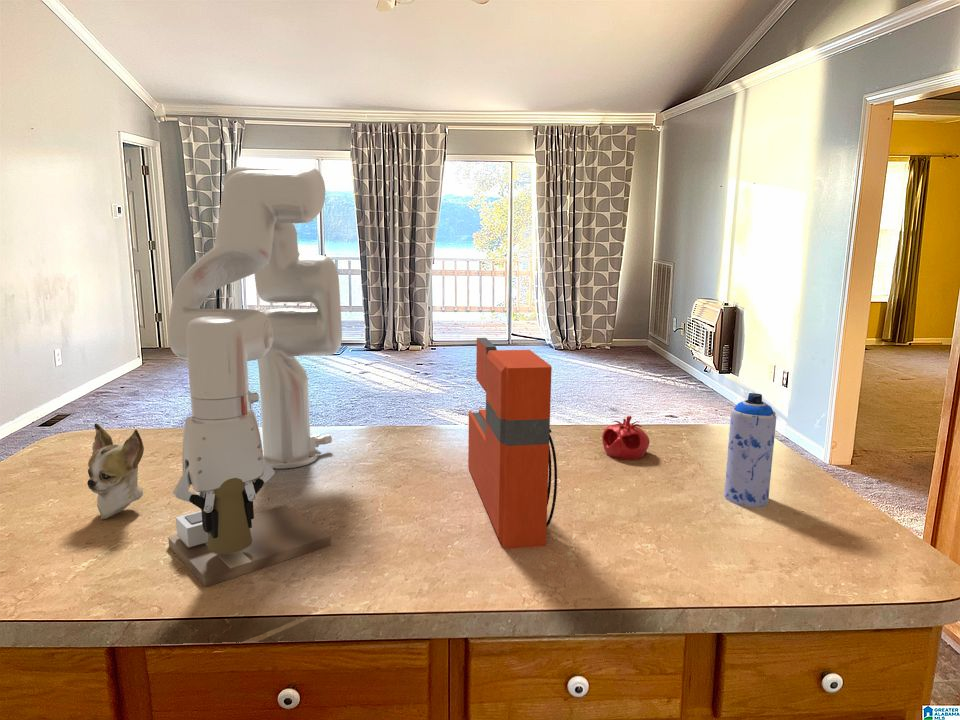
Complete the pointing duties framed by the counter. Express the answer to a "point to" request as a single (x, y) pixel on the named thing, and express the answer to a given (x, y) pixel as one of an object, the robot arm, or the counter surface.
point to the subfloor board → (255, 546)
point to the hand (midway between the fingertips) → (229, 528)
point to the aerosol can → (750, 452)
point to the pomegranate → (625, 440)
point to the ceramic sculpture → (114, 472)
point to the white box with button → (191, 529)
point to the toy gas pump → (513, 444)
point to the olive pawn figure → (230, 519)
